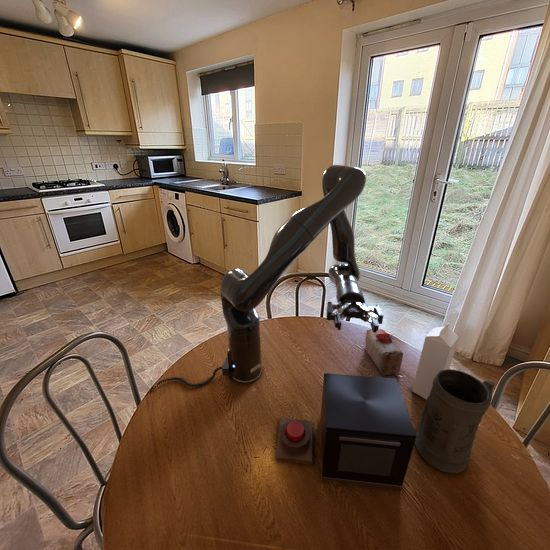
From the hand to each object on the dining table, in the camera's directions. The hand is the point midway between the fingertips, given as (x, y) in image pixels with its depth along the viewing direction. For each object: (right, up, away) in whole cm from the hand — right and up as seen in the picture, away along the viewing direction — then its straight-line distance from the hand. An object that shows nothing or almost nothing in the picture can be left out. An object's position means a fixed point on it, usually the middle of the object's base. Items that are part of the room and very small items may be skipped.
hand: (357, 328), depth 71 cm
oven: (-2, -27, -5) cm, 28 cm away
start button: (-15, -24, -4) cm, 29 cm away
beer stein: (+20, -27, -3) cm, 33 cm away
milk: (+23, -20, +11) cm, 32 cm away
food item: (+14, -15, +23) cm, 30 cm away
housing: (-15, -26, -2) cm, 30 cm away
